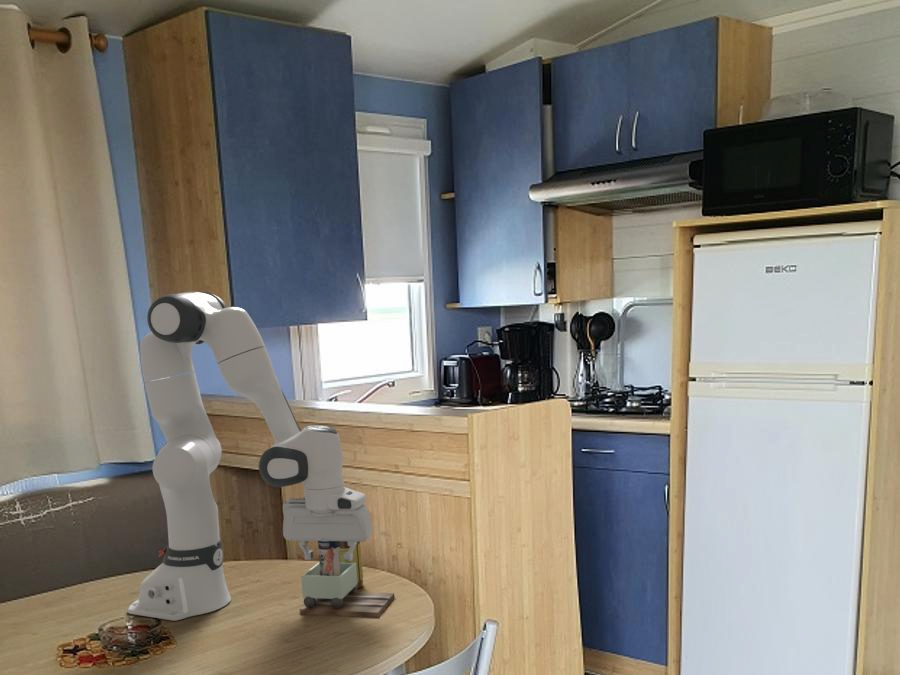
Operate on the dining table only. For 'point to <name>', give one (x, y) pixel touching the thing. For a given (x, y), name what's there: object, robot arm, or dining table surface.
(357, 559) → the sauce bottle
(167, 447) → the robot arm
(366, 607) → the walnut track
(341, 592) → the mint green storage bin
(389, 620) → the dining table surface
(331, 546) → the beer can
